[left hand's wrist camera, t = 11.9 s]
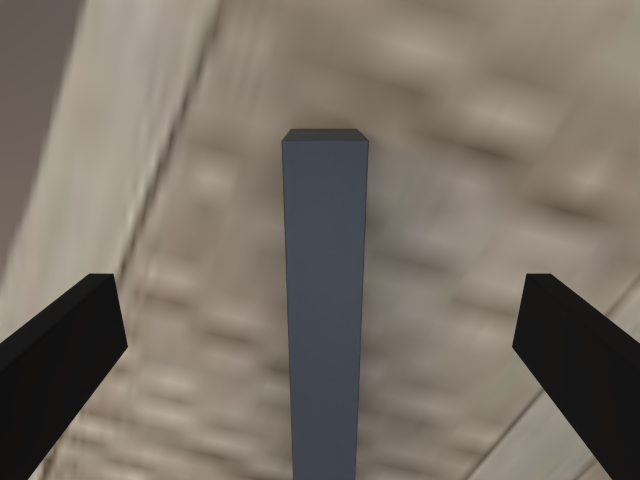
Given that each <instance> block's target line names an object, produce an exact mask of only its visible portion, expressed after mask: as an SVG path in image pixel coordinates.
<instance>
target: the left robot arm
mask: <svg viewBox="0 0 640 480" xmlns="http://www.w3.org/2000/svg"><path fill="white" fill-rule="evenodd" d="M127 348H128V345H127V340H126V335H125V330H124V325H123V320H122V315H121V310H120V304H119V299H118V294H117V289H116V284H115V279H114V274H88V275H87V276H86V277H84V278H83V279H82V280H81V281H79V282H78V283H77V284H75V285H74V286H73V287H72V288H70V289H69V290H68V291H67V292H65V293H64V294H63V295H61V296H60V297H59V298H58V299H56V300H55V301H54V302H53V303H51V304H50V305H49V306H47V307H46V308H45V309H44V310H42V311H41V312H40V313H39V314H37V315H36V316H35V317H33V318H32V319H31V320H30V321H28V322H27V323H26V324H24V325H23V326H22V327H21V328H19V329H18V330H17V331H16V332H14V333H13V334H12V335H10V336H9V337H8V338H7V339H5V340H4V341H3V342H2V343H0V480H28V479H29V477H30V476H31V475H32V473H33V472H34V471H35V469H36V468H37V467H38V465H39V464H40V463H41V461H42V460H43V459H44V457H45V456H46V455H47V453H48V452H49V451H50V449H51V448H52V447H53V446H54V444H55V443H56V442H57V440H58V439H59V438H60V436H61V435H62V434H63V432H64V431H65V430H66V428H67V427H68V426H69V424H70V423H71V422H72V420H73V419H74V418H75V416H76V415H77V414H78V412H79V411H80V410H81V408H82V407H83V406H84V404H85V403H86V402H87V401H88V399H89V398H90V397H91V395H92V394H93V393H94V391H95V390H96V389H97V387H98V386H99V385H100V383H101V382H102V381H103V379H104V378H105V377H106V375H107V374H108V373H109V371H110V370H111V369H112V367H113V366H114V365H115V363H116V362H117V361H118V359H119V358H120V357H121V355H122V354H123V353H124V352H125V350H126V349H127ZM512 348H513V349H514V350H515V352H516V353H517V354H518V355H519V357H520V358H521V359H522V361H523V362H524V363H525V365H526V366H527V367H528V369H529V370H530V371H531V373H532V374H533V375H534V377H535V378H536V379H537V381H538V382H539V383H540V385H541V386H542V387H543V389H544V390H545V391H546V393H547V394H548V395H549V397H550V398H551V399H552V401H553V402H554V403H555V404H556V406H557V407H558V408H559V410H560V411H561V412H562V414H563V415H564V416H565V418H566V419H567V420H568V422H569V423H570V424H571V426H572V427H573V428H574V430H575V431H576V432H577V434H578V435H579V436H580V438H581V439H582V440H583V442H584V443H585V444H586V446H587V447H588V448H589V449H590V451H591V452H592V453H593V455H594V456H595V457H596V459H597V460H598V461H599V463H600V464H601V465H602V467H603V468H604V469H605V471H606V472H607V473H608V475H609V476H610V477H611V479H612V480H640V343H638V342H637V341H636V340H635V339H633V338H632V337H631V336H630V335H628V334H627V333H626V332H624V331H623V330H622V329H621V328H619V327H618V326H617V325H616V324H614V323H613V322H612V321H610V320H609V319H608V318H607V317H605V316H604V315H603V314H601V313H600V312H599V311H598V310H596V309H595V308H594V307H593V306H591V305H590V304H589V303H587V302H586V301H585V300H584V299H582V298H581V297H580V296H579V295H577V294H576V293H575V292H573V291H572V290H571V289H570V288H568V287H567V286H566V285H565V284H563V283H562V282H561V281H559V280H558V279H557V278H556V277H554V276H553V275H552V274H526V279H525V284H524V289H523V294H522V299H521V304H520V310H519V315H518V320H517V325H516V330H515V335H514V340H513V345H512Z"/></svg>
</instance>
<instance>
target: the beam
mask: <svg viewBox="0 0 640 480" xmlns="http://www.w3.org/2000/svg"><path fill="white" fill-rule="evenodd" d="M368 145H369V141H368V140H367V139H366V138H365V137H364V136H363V135H362V134H361V133H360V132H359V131H358V130H357V129H291V130H290V131H289V132H288V134H287V135H286V136H285V137H284V139H283V140H282V164H283V194H284V223H285V252H286V282H287V311H288V340H289V370H290V399H291V428H292V458H293V480H355V470H356V445H357V420H358V395H359V370H360V345H361V320H362V295H363V270H364V245H365V220H366V195H367V170H368Z"/></svg>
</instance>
